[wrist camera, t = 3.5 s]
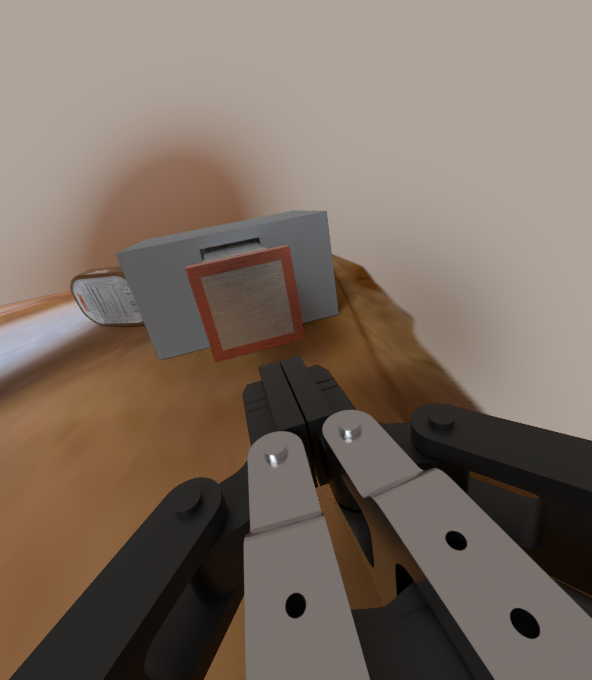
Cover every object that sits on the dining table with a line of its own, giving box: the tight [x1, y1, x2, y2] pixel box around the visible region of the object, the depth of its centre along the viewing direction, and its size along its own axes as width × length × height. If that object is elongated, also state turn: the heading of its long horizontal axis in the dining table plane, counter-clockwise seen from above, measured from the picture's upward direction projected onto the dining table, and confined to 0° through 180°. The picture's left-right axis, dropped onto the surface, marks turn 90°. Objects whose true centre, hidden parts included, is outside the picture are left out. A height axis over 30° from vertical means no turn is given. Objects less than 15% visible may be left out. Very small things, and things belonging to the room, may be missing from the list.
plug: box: [185, 239, 305, 362], centre depth 27 cm, size 16×6×6 cm, turn 15°
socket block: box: [116, 211, 339, 360], centre depth 38 cm, size 14×20×11 cm
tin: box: [70, 266, 145, 326], centre depth 44 cm, size 15×3×8 cm, turn 70°
